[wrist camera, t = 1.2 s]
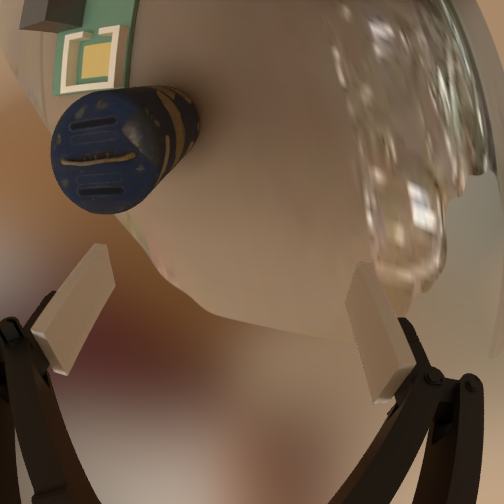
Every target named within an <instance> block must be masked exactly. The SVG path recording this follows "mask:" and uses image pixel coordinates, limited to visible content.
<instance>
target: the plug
mask: <svg viewBox="0 0 504 504" xmlns="http://www.w3.org/2000/svg"><path fill="white" fill-rule="evenodd" d="M86 1H87V0H25V1H24V6H23V11H22V16H21V22H20V28H19V29H20V30H34V31H44V32H53V33H60V32H64V31H68V30H72V29H77V28H81V27H82V24H83V18H84V12H85V6H86Z"/></svg>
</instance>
